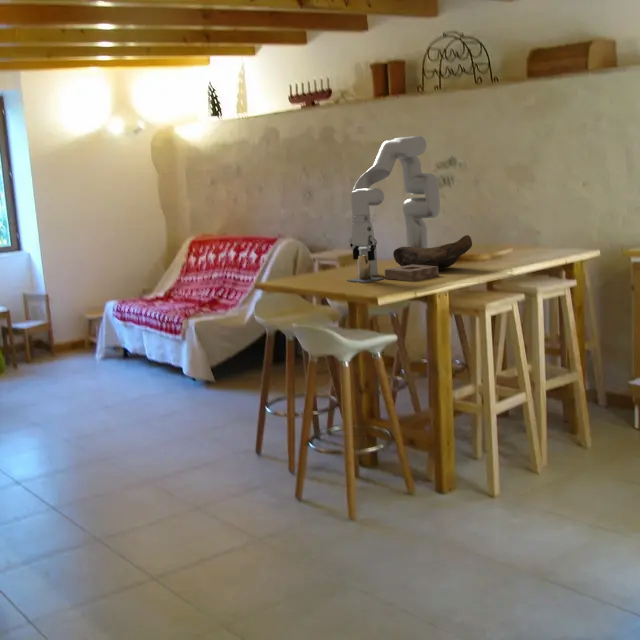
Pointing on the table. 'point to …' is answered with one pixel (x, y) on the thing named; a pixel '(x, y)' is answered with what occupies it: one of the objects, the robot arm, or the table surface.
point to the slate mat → (365, 280)
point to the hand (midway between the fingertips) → (363, 259)
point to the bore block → (411, 272)
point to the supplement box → (373, 262)
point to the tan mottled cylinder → (364, 267)
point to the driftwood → (433, 254)
